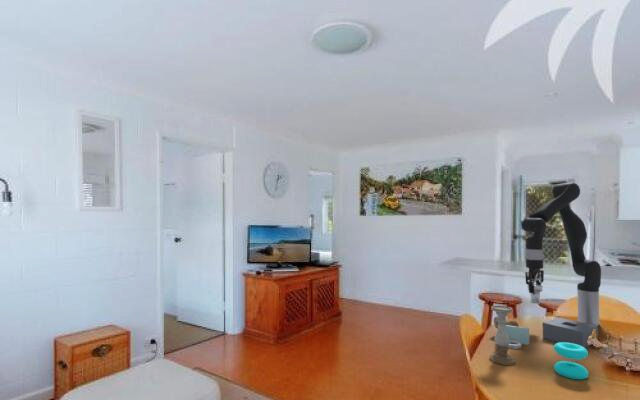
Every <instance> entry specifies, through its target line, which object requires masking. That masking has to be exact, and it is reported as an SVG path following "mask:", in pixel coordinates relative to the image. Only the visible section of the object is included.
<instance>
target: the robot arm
mask: <svg viewBox="0 0 640 400" xmlns="http://www.w3.org/2000/svg"><path fill="white" fill-rule="evenodd" d="M552 195H553V199H552V200H550V201H547V202H545V203H544V204H543V205H542V206H541V207H540V208H538V210H536V211H535V212H533V213H532V214H529V215H528V216H526V217H525V218H524V219H523V220H522V222H521V228H522V230H523V231H525V232H526V233H533V235H532V236H529V237H527V238H526V239H525V267H526V268H527V269H528V271H525V273H524V274H525V284H526V285H527V286H528V285H529V290H528V293H529V294H530V293H534V284H538V285H543V284H542V283H544V274H545V273H544V272H545V270H543V269H544V251H543V239H544V236H545V233H546V230H547V229H546V228H547V223H548V222H549V221H550V220H551V219H552V218H553V217H555V215H556V214H557V213H558V212H559V215H560V217H561V222H562V224H563V226H562V227H563V229H564V232H565V236H566V238H567V243H568V247H569V252H570V256H571V257H570V258H571V264H572V268H573V269H572V270H573V271H574V273H575V274H576V275H577V276H580V277H584V278H583V279H584V281H582V282H578V283H577V288H576V289H577V291H576V292H577V322H582V323H587V324H591V325H596V326H599V325H600V287H601V283H602V282H601V281H602V280H601V279H602V268H601V265H600V263H599V262H598V261H596V260H593V259H587V258H586V255H585V252H584V247H585V244H586V241H587V239H588V238H587V237H588V233H587V229H586V225H585V222H584V221H583V220H582V218H581V217H580V216H579V215H577V213H575V212H574V210H572V208H571V206H570V204H571V203H572V202H574V201H575V200H576V199H578V198H579V197H580V195H581V189H580V186H579V185H578V184H577V182H566V183H565V182H564V183H559V184H558V183H557V184H555V185H553V187H552Z"/></svg>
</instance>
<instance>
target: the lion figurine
mask: <svg viewBox="0 0 640 400" xmlns="http://www.w3.org/2000/svg"><path fill="white" fill-rule="evenodd" d="M497 319H498V315H496V316H495V317H494V318H493V324H494V326H495V328H496V329H497V330H498V322H497V321H496V320H497ZM506 325H509V326H517V327H520V326H519V323H518V322H517V321H516V320H514V319H510V320H507V323H506Z"/></svg>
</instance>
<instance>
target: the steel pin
mask: <svg viewBox="0 0 640 400" xmlns="http://www.w3.org/2000/svg"><path fill="white" fill-rule="evenodd" d="M543 288H544V287H543V284H541V285H538V284H537V283H534V293H529V295H530V303H531V304H538V305H539V304H540V303H541V295H540V294H541V292H543V290H544V289H543ZM527 290H528V291H529V285H528V284H527Z"/></svg>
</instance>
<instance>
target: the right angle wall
mask: <svg viewBox="0 0 640 400" xmlns="http://www.w3.org/2000/svg"><path fill="white" fill-rule="evenodd" d="M506 332H507V334H508V336H509V339H510V343H509V345H508V347H509V349H513V350H518V349H521V348H522V346H523V345H525V346H526V345H527V346H530V328H529V327H523V326H519V327H517V326H509V325H506Z"/></svg>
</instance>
